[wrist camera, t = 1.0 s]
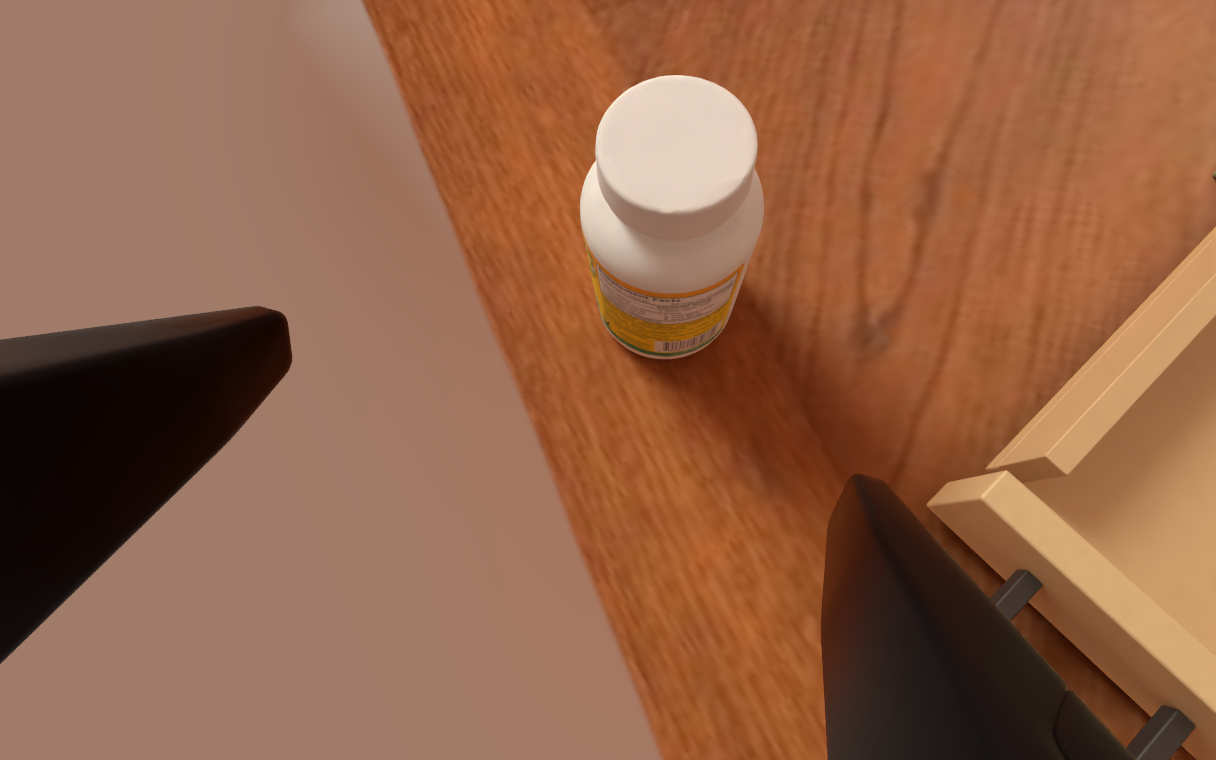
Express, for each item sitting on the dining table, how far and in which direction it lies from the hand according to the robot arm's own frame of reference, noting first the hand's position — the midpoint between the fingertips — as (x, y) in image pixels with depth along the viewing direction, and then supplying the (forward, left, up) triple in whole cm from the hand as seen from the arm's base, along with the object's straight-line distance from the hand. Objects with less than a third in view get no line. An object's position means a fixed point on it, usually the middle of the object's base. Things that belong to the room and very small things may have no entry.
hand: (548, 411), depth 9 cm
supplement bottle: (+8, 0, -14) cm, 16 cm away
